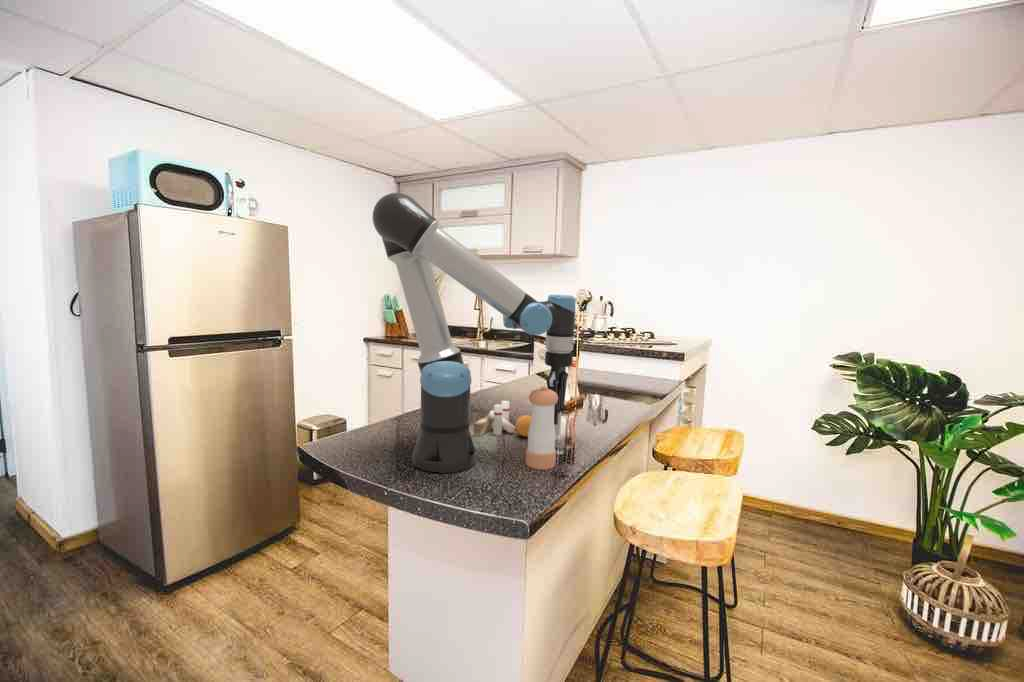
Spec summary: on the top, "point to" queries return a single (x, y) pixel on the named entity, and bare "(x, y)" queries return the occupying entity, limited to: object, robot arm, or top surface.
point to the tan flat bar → (483, 426)
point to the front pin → (505, 423)
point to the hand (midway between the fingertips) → (554, 434)
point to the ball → (523, 425)
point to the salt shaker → (542, 430)
